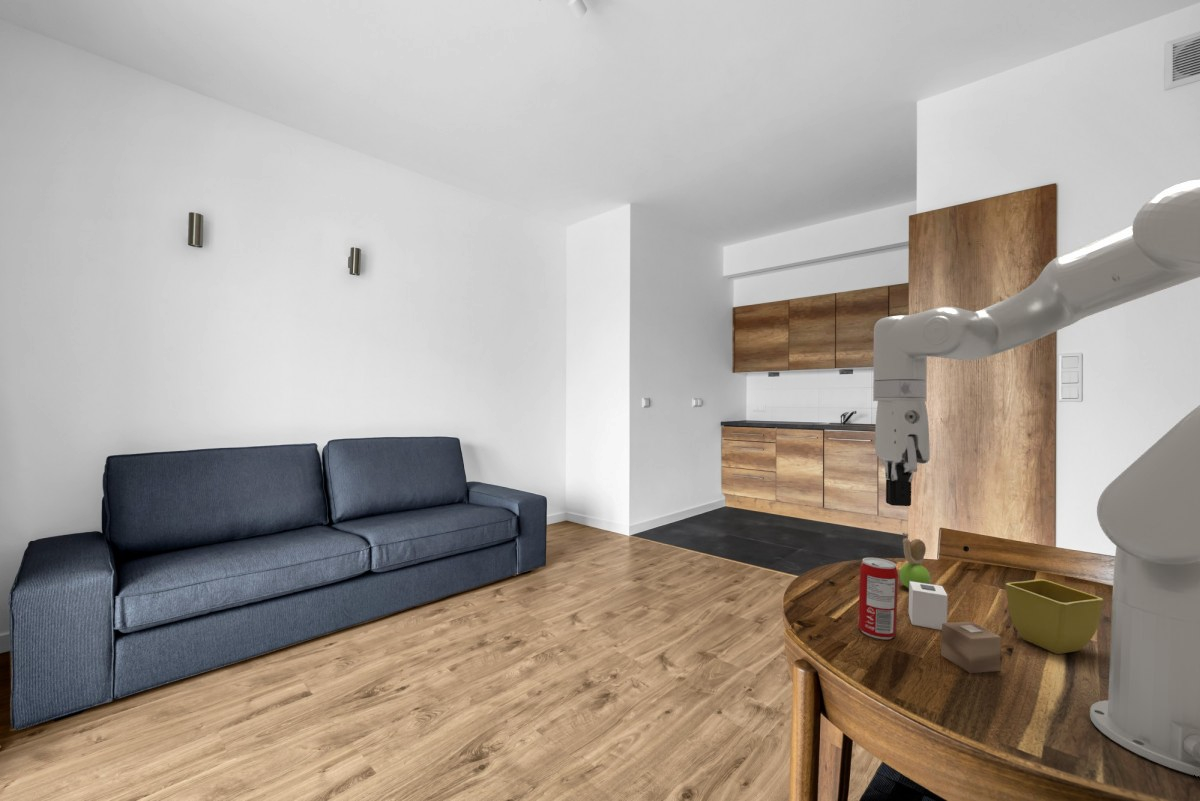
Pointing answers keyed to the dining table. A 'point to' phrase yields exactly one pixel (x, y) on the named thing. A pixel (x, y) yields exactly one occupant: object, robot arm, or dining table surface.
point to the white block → (927, 605)
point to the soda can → (878, 598)
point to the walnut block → (971, 647)
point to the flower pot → (1053, 614)
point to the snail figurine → (914, 562)
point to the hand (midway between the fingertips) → (898, 504)
